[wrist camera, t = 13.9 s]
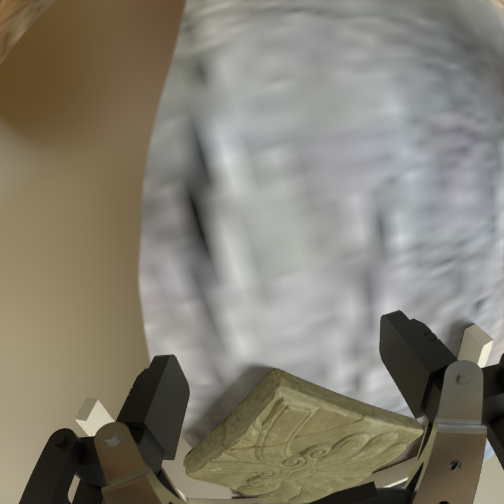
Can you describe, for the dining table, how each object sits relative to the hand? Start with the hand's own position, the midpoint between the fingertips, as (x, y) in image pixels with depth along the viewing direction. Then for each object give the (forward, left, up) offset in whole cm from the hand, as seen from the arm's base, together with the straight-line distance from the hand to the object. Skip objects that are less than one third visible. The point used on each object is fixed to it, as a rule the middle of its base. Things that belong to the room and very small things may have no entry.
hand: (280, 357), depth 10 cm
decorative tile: (0, +20, -8) cm, 21 cm away
